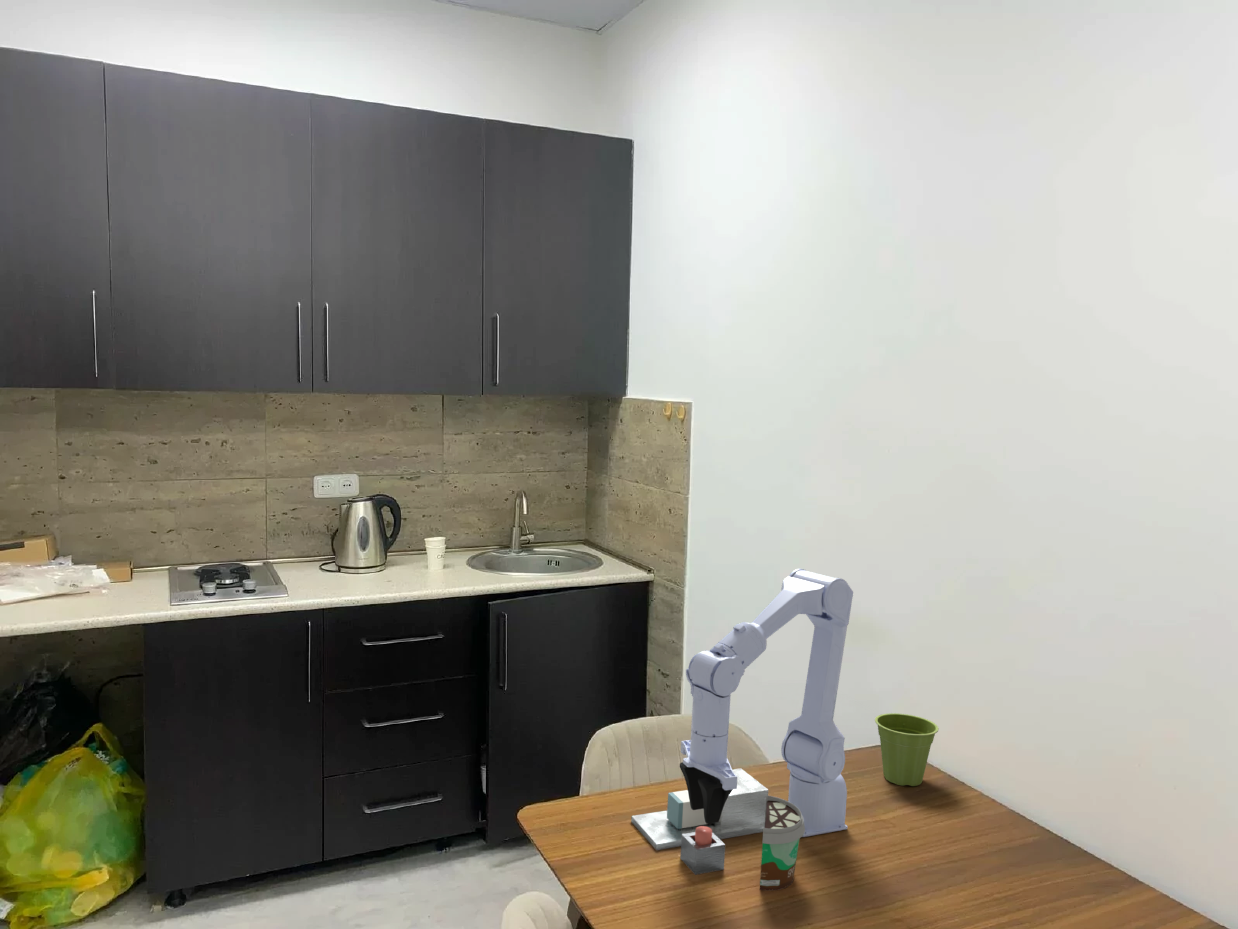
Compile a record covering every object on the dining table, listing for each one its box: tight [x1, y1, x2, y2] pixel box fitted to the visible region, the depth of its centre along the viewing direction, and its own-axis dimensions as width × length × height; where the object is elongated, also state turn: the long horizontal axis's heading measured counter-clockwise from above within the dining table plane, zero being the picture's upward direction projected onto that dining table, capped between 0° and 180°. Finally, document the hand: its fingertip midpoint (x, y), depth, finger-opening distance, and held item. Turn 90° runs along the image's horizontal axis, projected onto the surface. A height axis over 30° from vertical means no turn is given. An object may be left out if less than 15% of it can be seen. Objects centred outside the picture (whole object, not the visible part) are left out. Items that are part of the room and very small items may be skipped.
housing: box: [630, 767, 769, 851], centre depth 152 cm, size 21×10×7 cm, turn 113°
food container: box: [759, 794, 805, 891], centre depth 137 cm, size 12×6×10 cm, turn 168°
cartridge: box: [666, 789, 707, 829], centre depth 153 cm, size 14×4×5 cm, turn 113°
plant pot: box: [874, 712, 940, 787], centre depth 175 cm, size 12×12×11 cm
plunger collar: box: [679, 832, 726, 876], centre depth 140 cm, size 5×5×4 cm
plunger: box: [695, 826, 712, 846], centre depth 140 cm, size 3×3×4 cm
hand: (704, 815), depth 140 cm, fingers open, 4 cm apart
